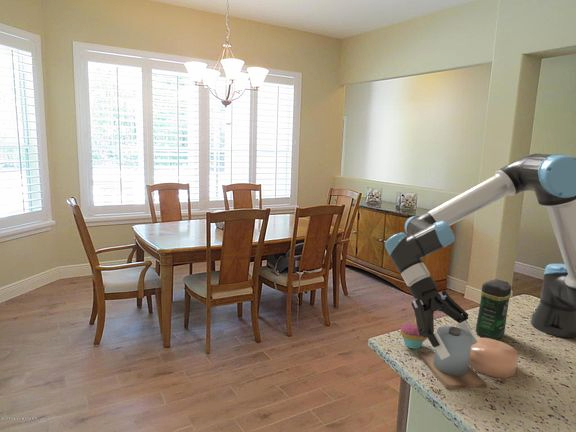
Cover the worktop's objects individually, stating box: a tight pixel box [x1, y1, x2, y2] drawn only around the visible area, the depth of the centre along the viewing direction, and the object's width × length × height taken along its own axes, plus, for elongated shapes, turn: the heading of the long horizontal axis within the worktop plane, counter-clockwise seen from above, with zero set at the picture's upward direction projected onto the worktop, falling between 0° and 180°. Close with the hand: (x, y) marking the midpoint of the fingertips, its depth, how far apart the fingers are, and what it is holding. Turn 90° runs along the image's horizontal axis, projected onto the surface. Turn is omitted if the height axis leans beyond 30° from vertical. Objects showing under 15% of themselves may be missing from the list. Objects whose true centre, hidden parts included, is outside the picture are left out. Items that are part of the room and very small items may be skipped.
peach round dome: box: [469, 337, 519, 379], centre depth 114 cm, size 13×13×5 cm
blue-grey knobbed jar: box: [433, 325, 472, 376], centre depth 110 cm, size 9×9×11 cm
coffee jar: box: [475, 278, 512, 340], centre depth 132 cm, size 10×8×19 cm
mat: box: [418, 351, 487, 389], centre depth 111 cm, size 11×16×1 cm
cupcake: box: [399, 317, 429, 350], centre depth 123 cm, size 9×8×12 cm
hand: (460, 350), depth 108 cm, fingers open, 13 cm apart
